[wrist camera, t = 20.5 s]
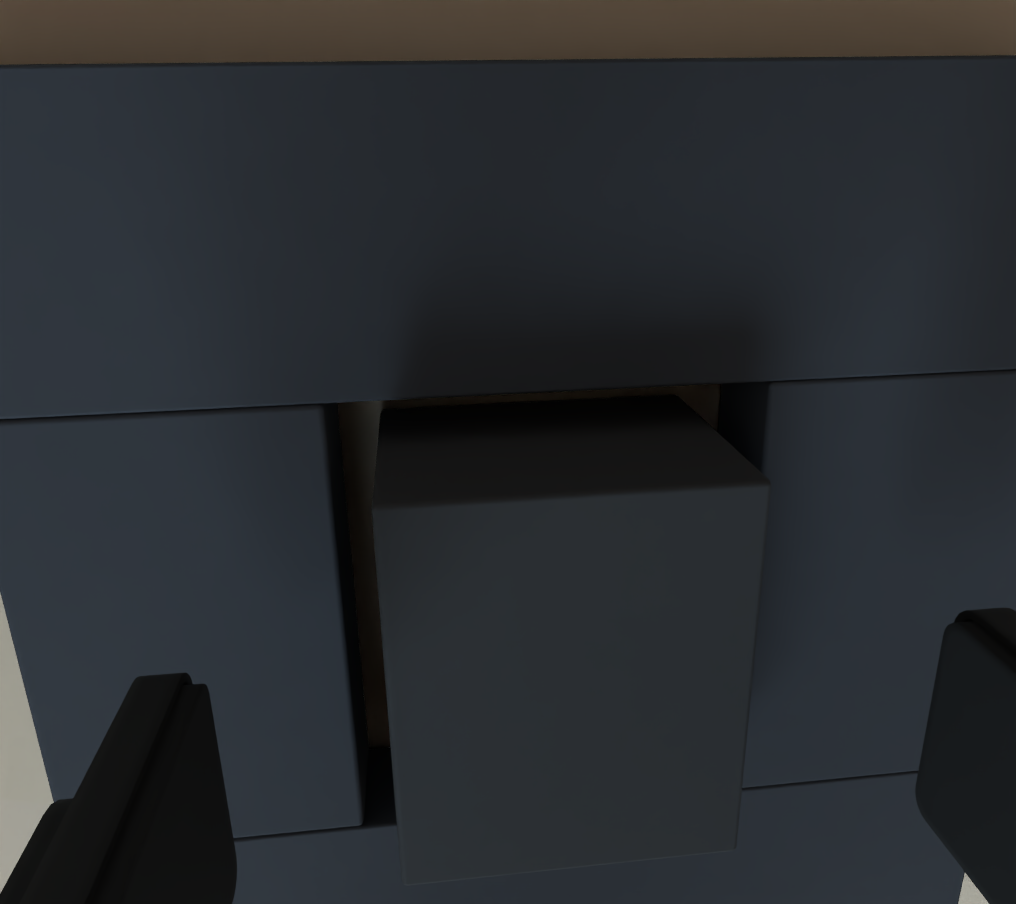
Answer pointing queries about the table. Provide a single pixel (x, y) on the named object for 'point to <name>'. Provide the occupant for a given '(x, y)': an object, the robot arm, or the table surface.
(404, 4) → the table surface
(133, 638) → the socket pad
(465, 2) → the table surface
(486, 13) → the table surface
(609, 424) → the small dark rectangular block
